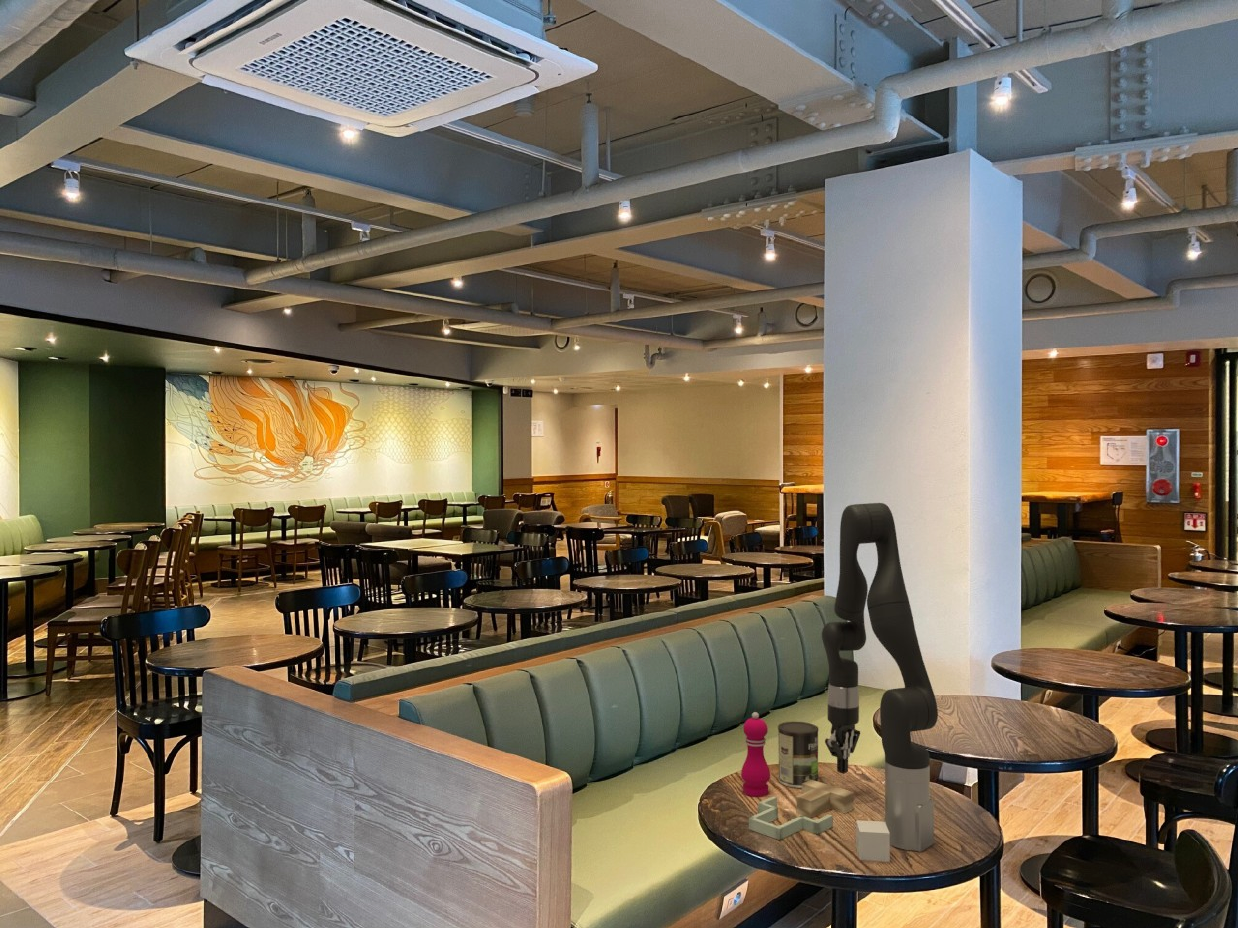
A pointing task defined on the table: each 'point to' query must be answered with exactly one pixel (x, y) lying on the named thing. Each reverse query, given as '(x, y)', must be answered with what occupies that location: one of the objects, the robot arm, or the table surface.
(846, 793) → the t block
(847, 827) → the table surface
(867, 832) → the beige cube
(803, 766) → the coffee can
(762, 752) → the pepper mill
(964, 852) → the table surface
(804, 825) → the t dock
